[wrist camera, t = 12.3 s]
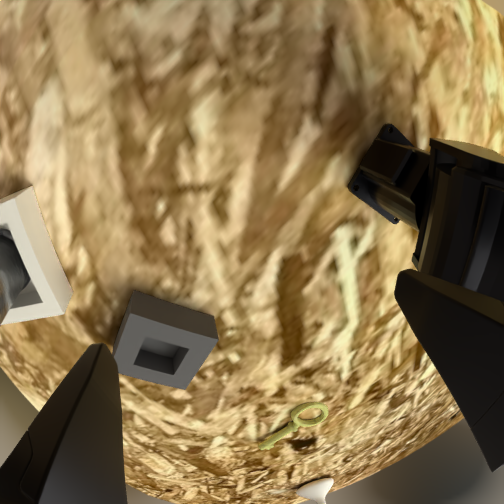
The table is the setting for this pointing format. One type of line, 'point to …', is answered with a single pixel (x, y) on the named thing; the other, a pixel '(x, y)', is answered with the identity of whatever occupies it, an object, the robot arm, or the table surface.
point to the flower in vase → (316, 490)
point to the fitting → (10, 272)
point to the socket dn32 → (163, 341)
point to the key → (296, 423)
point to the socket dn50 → (34, 260)
